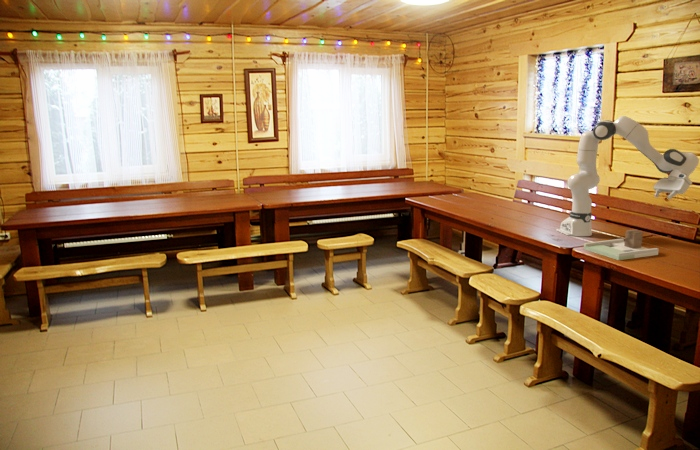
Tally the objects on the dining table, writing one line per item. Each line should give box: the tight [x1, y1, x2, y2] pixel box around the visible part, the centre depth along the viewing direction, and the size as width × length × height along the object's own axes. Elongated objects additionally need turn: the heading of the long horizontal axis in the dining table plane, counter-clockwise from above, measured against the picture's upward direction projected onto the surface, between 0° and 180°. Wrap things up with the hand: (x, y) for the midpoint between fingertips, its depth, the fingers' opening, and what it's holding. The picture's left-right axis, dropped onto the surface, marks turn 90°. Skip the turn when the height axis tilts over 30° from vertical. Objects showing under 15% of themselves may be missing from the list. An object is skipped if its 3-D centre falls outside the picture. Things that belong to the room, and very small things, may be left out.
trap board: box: [583, 238, 659, 261], centre depth 319 cm, size 25×28×4 cm
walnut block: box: [624, 229, 644, 249], centre depth 322 cm, size 6×6×9 cm
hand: (662, 197), depth 323 cm, fingers open, 8 cm apart
